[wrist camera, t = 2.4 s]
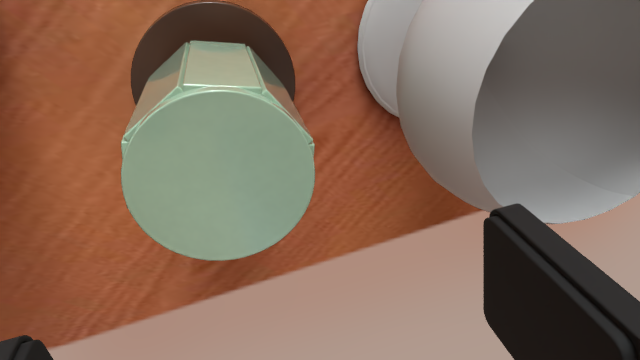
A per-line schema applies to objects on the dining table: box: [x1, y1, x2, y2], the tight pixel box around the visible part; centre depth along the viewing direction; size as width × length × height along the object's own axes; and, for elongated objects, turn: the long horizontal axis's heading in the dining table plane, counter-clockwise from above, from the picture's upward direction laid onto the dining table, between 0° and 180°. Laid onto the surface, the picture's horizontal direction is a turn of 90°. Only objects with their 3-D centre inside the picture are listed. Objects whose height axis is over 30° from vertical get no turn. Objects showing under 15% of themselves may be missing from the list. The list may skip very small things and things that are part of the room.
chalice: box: [357, 0, 640, 224], centre depth 26 cm, size 14×14×15 cm
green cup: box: [121, 41, 315, 261], centre depth 21 cm, size 7×7×9 cm
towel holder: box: [131, 0, 295, 106], centre depth 24 cm, size 10×10×14 cm
